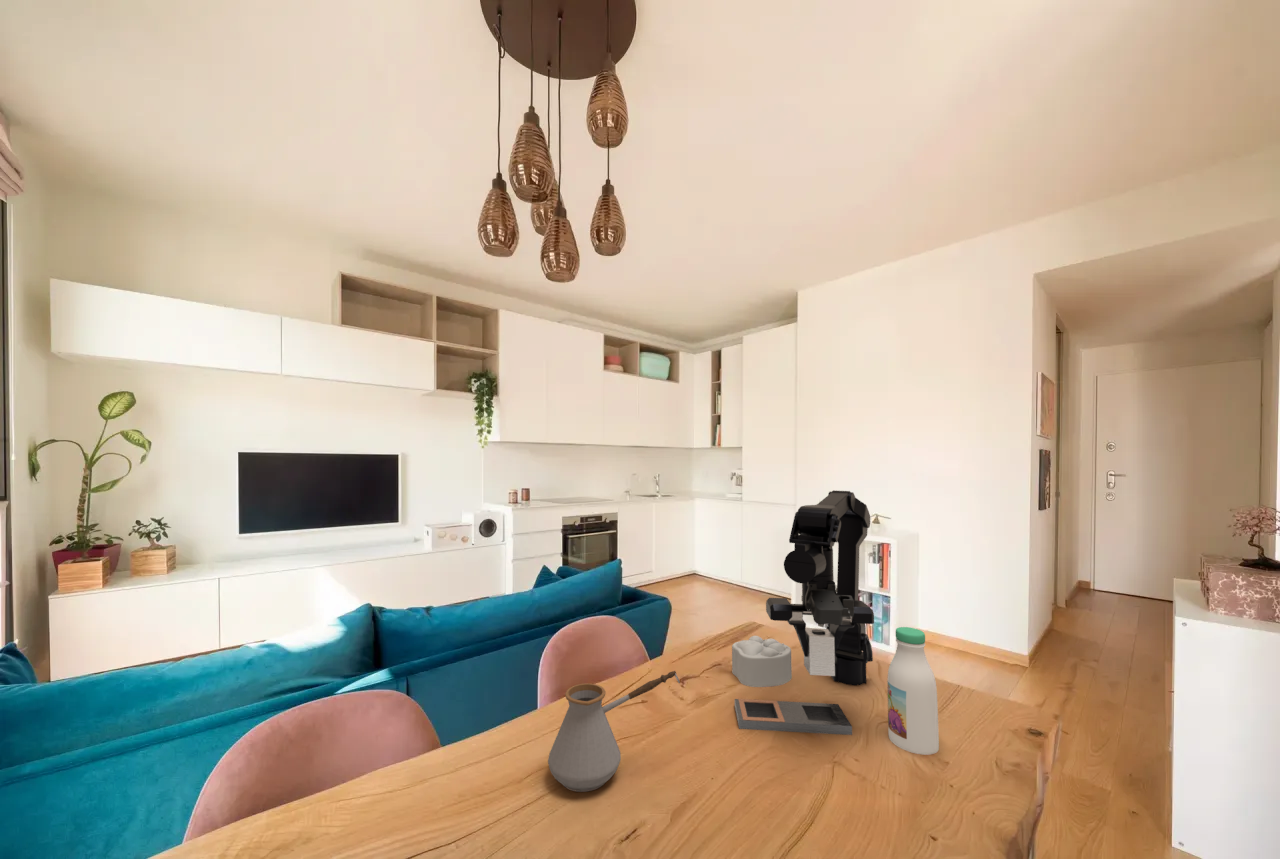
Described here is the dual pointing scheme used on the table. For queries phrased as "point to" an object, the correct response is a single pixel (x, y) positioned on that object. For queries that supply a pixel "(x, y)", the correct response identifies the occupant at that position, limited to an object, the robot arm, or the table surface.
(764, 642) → the lumpy-topped squat cylinder
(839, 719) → the grey flat block
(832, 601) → the robot arm
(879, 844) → the table surface
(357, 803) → the table surface
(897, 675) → the milk bottle
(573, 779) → the coffee pot
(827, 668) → the block
